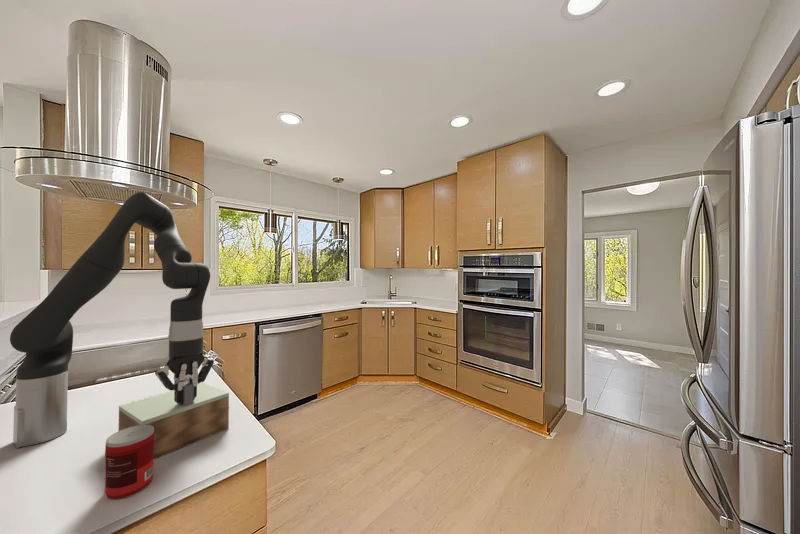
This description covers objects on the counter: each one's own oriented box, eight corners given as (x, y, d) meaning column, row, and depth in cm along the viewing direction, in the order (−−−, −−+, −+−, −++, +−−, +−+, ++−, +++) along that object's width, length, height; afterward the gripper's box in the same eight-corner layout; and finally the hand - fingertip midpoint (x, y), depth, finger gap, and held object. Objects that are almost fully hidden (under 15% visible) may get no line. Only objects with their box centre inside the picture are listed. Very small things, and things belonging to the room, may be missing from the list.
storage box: (141, 465, 70) (142, 426, 70) (118, 444, 79) (118, 410, 79) (228, 427, 87) (228, 396, 87) (201, 414, 96) (201, 385, 96)
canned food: (148, 469, 69) (149, 420, 69) (157, 485, 63) (158, 432, 64) (101, 488, 63) (102, 434, 63) (107, 506, 58) (108, 448, 58)
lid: (142, 425, 70) (142, 399, 71) (118, 409, 79) (119, 386, 79) (228, 396, 87) (228, 375, 87) (201, 385, 96) (202, 366, 96)
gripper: (161, 343, 73) (160, 415, 72) (220, 333, 85) (220, 395, 84) (149, 340, 77) (148, 408, 76) (207, 331, 89) (206, 390, 88)
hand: (185, 401), depth 80 cm, fingers closed on lid, 2 cm apart
